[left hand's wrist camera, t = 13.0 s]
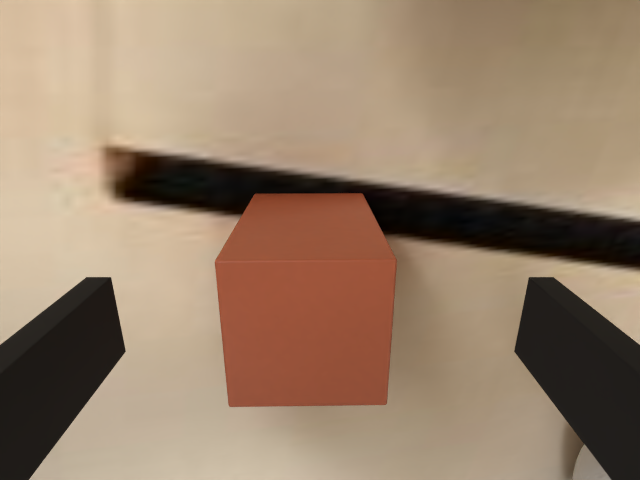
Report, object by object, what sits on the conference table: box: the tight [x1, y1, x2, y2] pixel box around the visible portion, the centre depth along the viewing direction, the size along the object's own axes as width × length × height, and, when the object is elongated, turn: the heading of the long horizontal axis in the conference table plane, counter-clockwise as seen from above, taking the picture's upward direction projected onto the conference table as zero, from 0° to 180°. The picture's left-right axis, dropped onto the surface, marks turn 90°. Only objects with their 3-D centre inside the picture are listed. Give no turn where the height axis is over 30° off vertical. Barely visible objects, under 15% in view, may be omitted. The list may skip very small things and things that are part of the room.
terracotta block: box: [215, 193, 397, 407], centre depth 16 cm, size 5×5×8 cm
